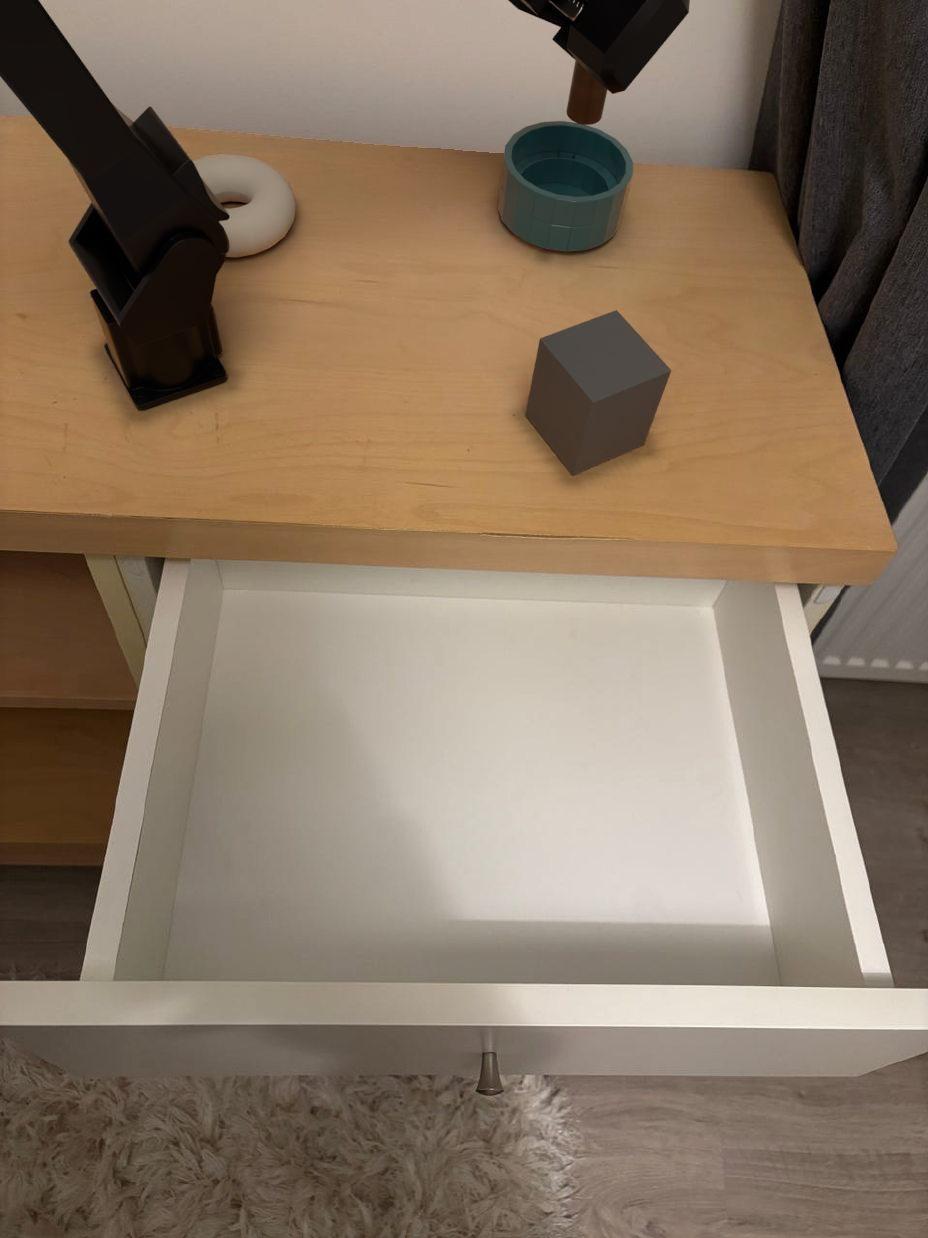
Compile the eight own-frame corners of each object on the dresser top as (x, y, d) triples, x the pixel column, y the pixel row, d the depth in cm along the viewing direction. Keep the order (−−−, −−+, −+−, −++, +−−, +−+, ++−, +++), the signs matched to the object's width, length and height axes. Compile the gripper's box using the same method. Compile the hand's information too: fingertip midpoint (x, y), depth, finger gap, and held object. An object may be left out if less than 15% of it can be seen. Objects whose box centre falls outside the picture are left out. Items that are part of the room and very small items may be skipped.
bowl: (540, 271, 70) (550, 215, 66) (474, 197, 74) (480, 138, 70) (642, 236, 73) (658, 179, 69) (574, 166, 77) (585, 108, 73)
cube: (572, 476, 60) (593, 402, 54) (524, 415, 63) (539, 338, 57) (644, 445, 62) (672, 370, 56) (595, 387, 65) (616, 309, 59)
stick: (596, 128, 65) (636, -64, 55) (561, 119, 65) (595, -75, 55) (605, 109, 66) (646, -82, 56) (572, 100, 66) (606, -93, 56)
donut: (240, 169, 74) (139, 219, 70) (235, 128, 71) (129, 178, 67) (324, 229, 71) (223, 285, 67) (322, 189, 68) (217, 245, 64)
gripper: (717, -204, 42) (796, 3, 55) (501, -340, 50) (616, -129, 63) (553, 13, 47) (662, 158, 60) (376, -142, 54) (508, 17, 67)
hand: (612, 44), depth 62 cm, fingers closed on stick, 2 cm apart
